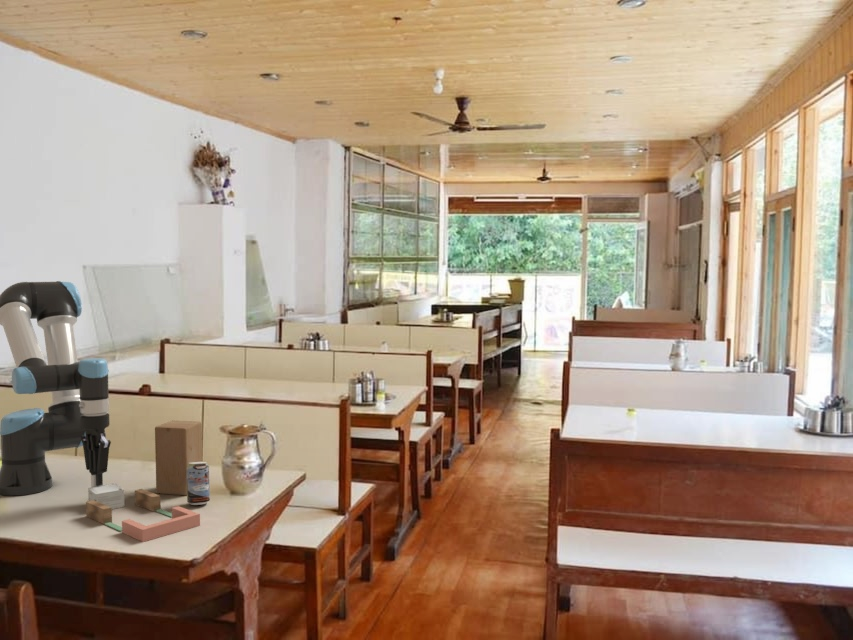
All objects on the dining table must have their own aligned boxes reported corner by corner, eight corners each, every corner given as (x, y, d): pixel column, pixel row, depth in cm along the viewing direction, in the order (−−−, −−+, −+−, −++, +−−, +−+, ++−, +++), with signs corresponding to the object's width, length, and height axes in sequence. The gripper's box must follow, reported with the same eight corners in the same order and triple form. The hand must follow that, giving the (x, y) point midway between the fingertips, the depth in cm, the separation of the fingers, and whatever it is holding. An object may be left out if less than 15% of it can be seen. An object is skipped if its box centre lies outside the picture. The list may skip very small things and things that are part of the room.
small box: (88, 505, 221) (87, 487, 220) (117, 500, 226) (116, 482, 225) (95, 512, 215) (95, 494, 214) (125, 507, 219) (124, 488, 219)
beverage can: (189, 509, 217) (188, 466, 217) (184, 501, 224) (183, 460, 223) (212, 506, 220) (212, 463, 219) (207, 498, 227) (206, 457, 226)
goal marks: (104, 524, 205) (104, 523, 205) (160, 510, 217) (160, 509, 217) (120, 531, 199) (120, 530, 199) (176, 516, 211) (176, 515, 211)
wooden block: (186, 495, 230) (185, 428, 228) (155, 493, 232) (154, 426, 230) (203, 486, 240) (202, 421, 238) (173, 484, 242) (171, 419, 240)
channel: (86, 516, 211) (85, 501, 211) (141, 502, 223) (141, 488, 223) (104, 524, 205) (104, 509, 204) (160, 510, 217) (160, 495, 216)
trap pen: (122, 532, 199) (121, 520, 198) (178, 517, 211) (178, 506, 211) (142, 541, 192) (142, 529, 192) (200, 525, 204) (199, 514, 204)
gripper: (70, 412, 223) (73, 494, 225) (92, 418, 214) (95, 503, 216) (96, 409, 229) (99, 489, 230) (119, 414, 220) (121, 497, 222)
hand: (97, 496), depth 223 cm, fingers closed
